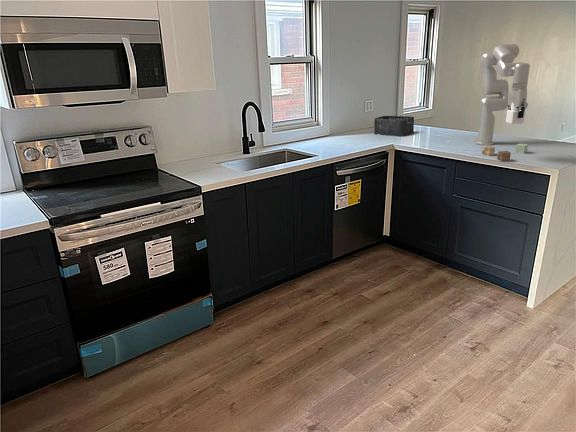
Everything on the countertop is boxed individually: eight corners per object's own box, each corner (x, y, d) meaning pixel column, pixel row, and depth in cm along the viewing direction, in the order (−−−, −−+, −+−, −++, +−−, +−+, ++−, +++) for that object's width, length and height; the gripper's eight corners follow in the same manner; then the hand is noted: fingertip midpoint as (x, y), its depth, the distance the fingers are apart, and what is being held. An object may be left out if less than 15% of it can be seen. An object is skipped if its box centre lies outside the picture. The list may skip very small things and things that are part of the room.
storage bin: (372, 134, 352) (372, 118, 347) (384, 130, 365) (384, 115, 360) (403, 137, 333) (404, 119, 329) (415, 133, 346) (415, 116, 342)
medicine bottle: (517, 121, 252) (520, 101, 247) (523, 123, 245) (526, 102, 241) (505, 122, 252) (508, 101, 247) (511, 124, 245) (514, 103, 241)
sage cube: (515, 152, 264) (516, 144, 262) (518, 151, 267) (519, 143, 265) (523, 153, 260) (524, 145, 259) (527, 152, 263) (528, 144, 262)
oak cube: (481, 154, 264) (482, 146, 263) (487, 153, 266) (488, 145, 265) (488, 155, 260) (489, 147, 258) (494, 154, 262) (495, 146, 260)
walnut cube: (497, 159, 251) (498, 151, 249) (505, 159, 251) (506, 150, 249) (501, 161, 246) (502, 153, 244) (509, 160, 246) (510, 152, 244)
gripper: (503, 85, 248) (500, 115, 255) (524, 87, 232) (519, 119, 238) (515, 84, 249) (511, 114, 256) (536, 86, 233) (531, 118, 240)
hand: (515, 116), depth 247 cm, fingers closed on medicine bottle, 7 cm apart
